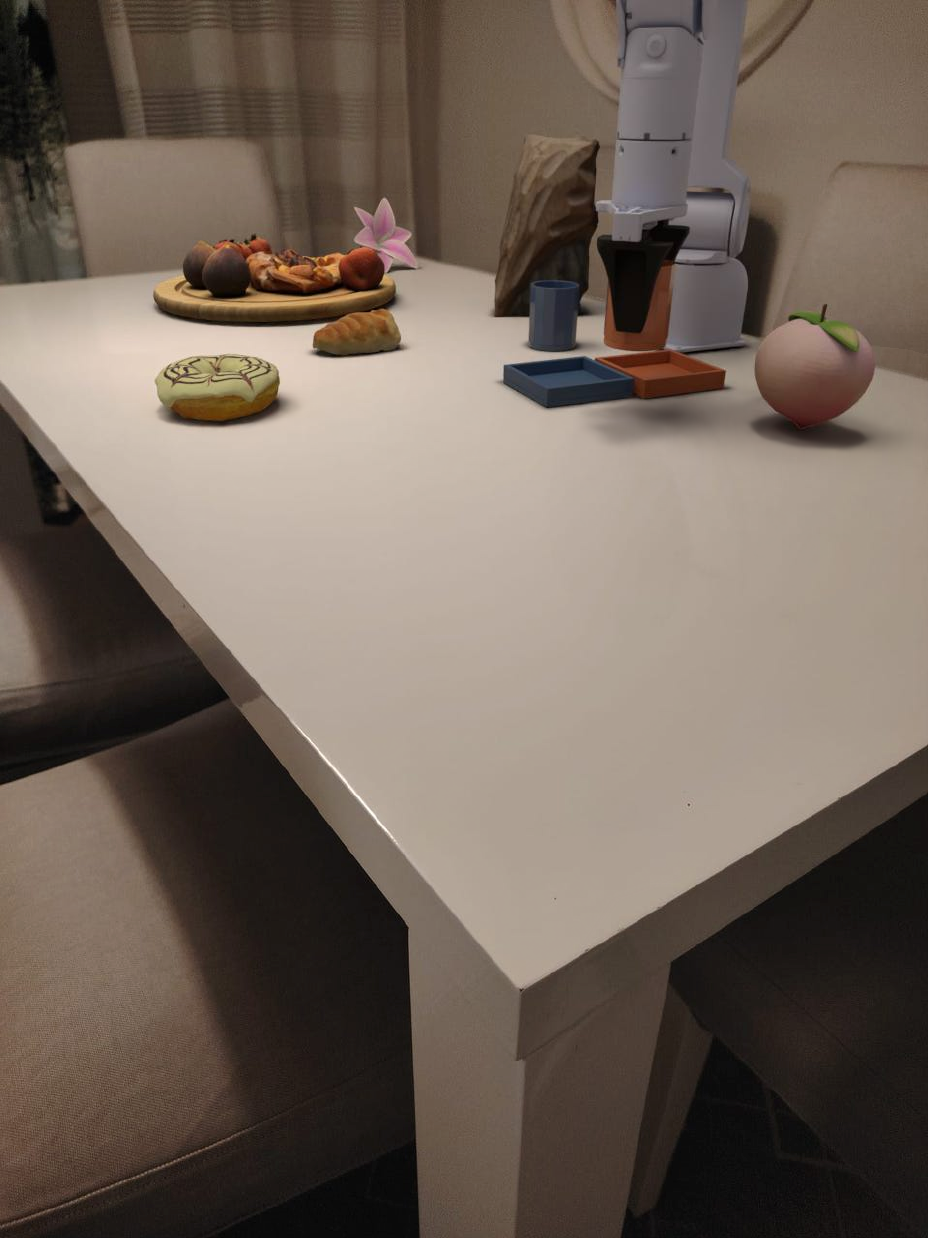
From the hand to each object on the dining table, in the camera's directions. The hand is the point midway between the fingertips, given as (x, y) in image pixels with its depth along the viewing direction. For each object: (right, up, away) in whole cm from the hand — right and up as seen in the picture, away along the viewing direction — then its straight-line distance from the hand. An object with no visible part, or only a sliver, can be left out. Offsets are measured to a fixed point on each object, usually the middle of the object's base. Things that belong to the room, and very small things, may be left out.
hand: (636, 323), depth 75 cm
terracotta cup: (0, -1, +1) cm, 2 cm away
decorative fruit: (+13, -9, 0) cm, 16 cm away
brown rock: (-6, +16, +43) cm, 46 cm away
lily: (-27, +32, +71) cm, 82 cm away
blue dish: (-5, -3, +10) cm, 12 cm away
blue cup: (-5, +6, +25) cm, 26 cm away
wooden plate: (-39, +18, +47) cm, 64 cm away
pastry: (-26, +5, +24) cm, 36 cm away
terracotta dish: (+4, -2, +13) cm, 13 cm away
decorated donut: (-36, -6, +5) cm, 37 cm away
